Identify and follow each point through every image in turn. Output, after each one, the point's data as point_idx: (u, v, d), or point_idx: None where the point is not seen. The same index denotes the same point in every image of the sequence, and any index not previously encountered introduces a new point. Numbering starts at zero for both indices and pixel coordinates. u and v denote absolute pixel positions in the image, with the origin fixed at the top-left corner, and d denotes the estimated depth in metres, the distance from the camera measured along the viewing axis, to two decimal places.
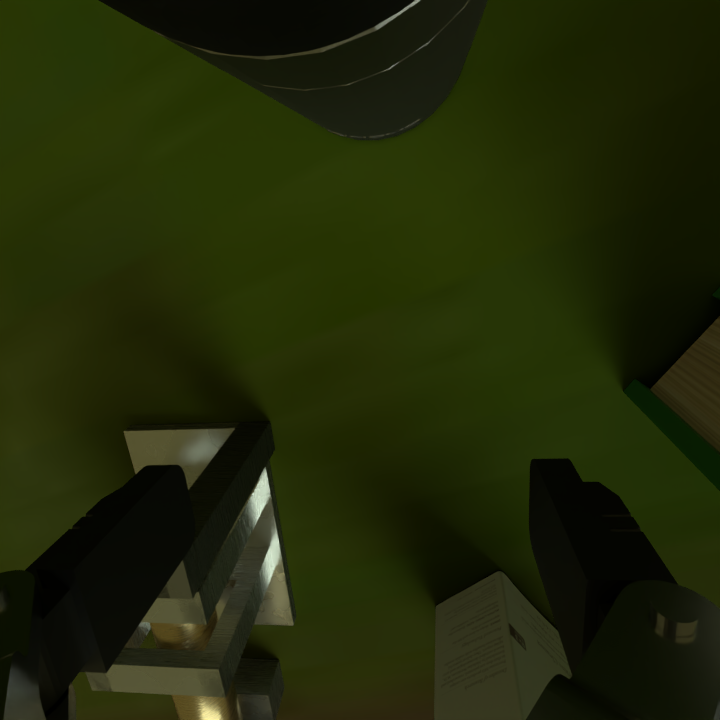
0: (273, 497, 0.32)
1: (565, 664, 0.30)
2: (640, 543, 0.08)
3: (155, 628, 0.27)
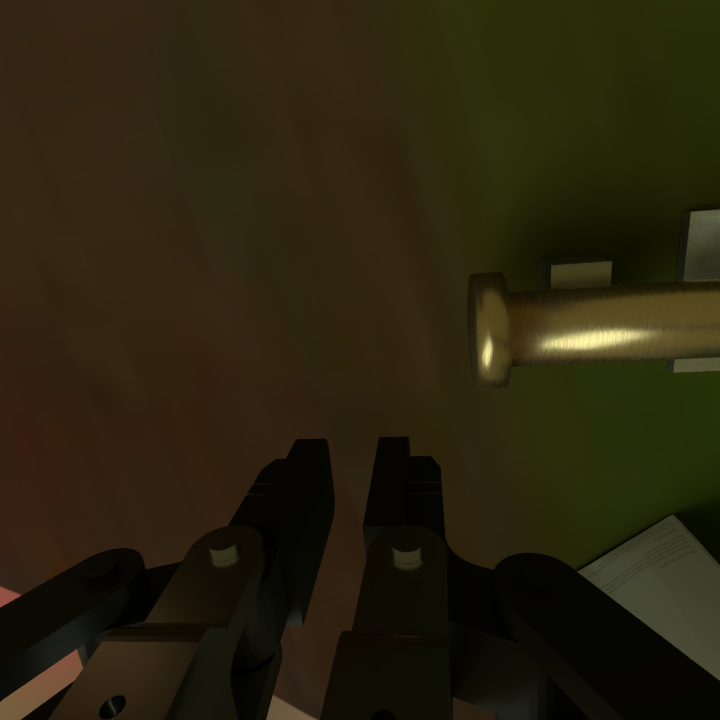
0: None
1: None
2: (434, 502, 0.09)
3: None
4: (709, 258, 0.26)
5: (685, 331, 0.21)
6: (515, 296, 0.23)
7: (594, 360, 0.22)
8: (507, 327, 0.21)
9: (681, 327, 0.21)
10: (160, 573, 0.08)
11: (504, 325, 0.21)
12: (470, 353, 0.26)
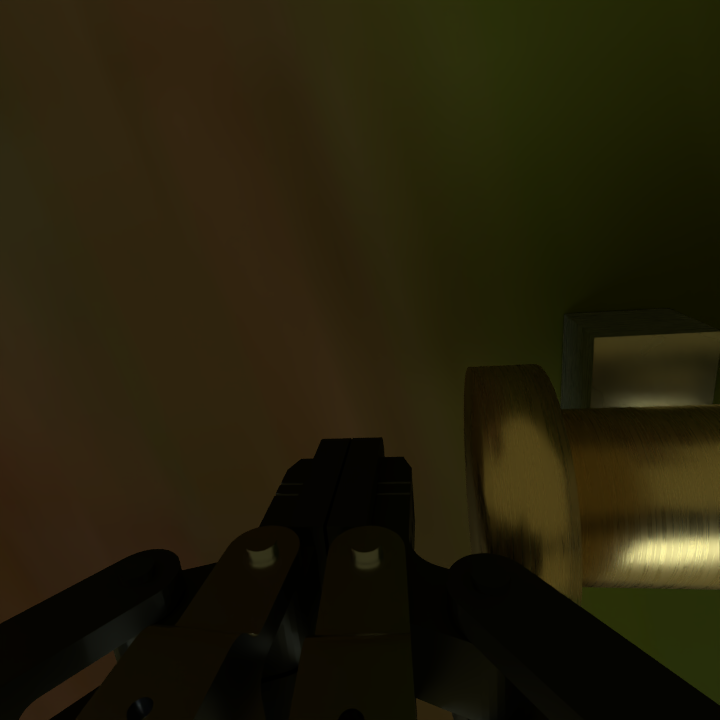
0: None
1: None
2: (401, 503, 0.09)
3: None
4: None
5: None
6: (578, 432, 0.09)
7: None
8: (570, 545, 0.08)
9: None
10: (195, 575, 0.08)
11: (561, 540, 0.08)
12: (469, 515, 0.12)
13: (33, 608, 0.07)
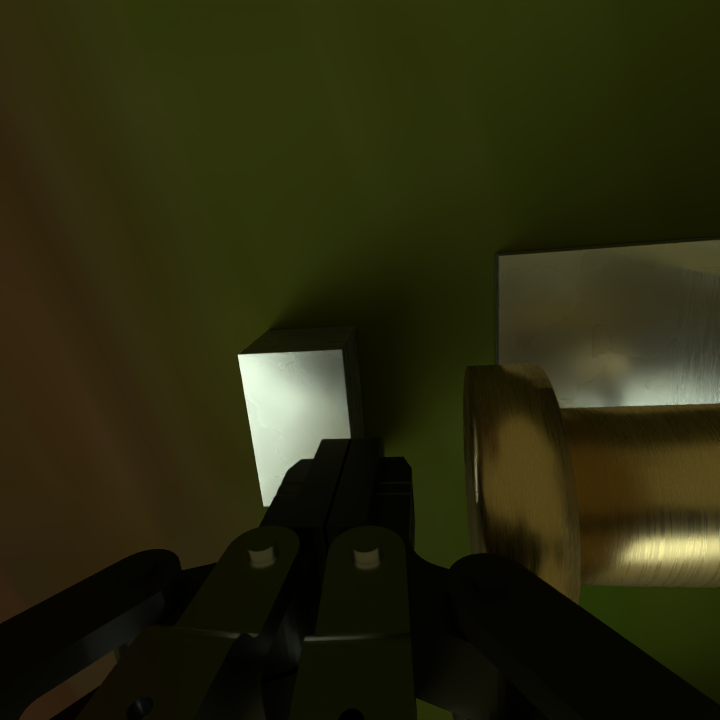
0: None
1: None
2: (401, 503, 0.09)
3: None
4: (539, 337, 0.15)
5: None
6: (577, 431, 0.09)
7: None
8: (568, 543, 0.08)
9: None
10: (195, 575, 0.08)
11: (560, 538, 0.08)
12: (469, 514, 0.13)
13: (33, 608, 0.07)
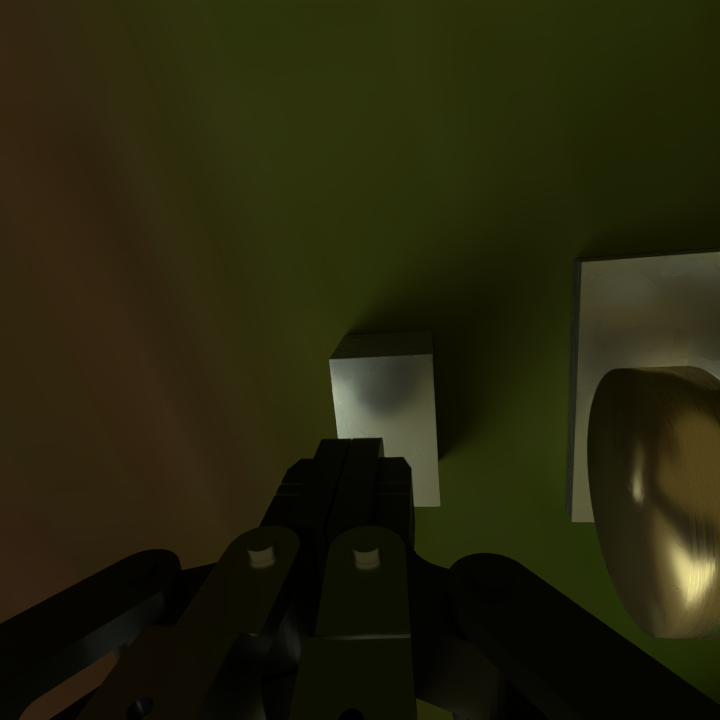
0: None
1: None
2: (401, 503, 0.09)
3: None
4: (619, 341, 0.15)
5: None
6: None
7: None
8: None
9: None
10: (195, 575, 0.08)
11: None
12: (600, 514, 0.13)
13: (33, 608, 0.07)
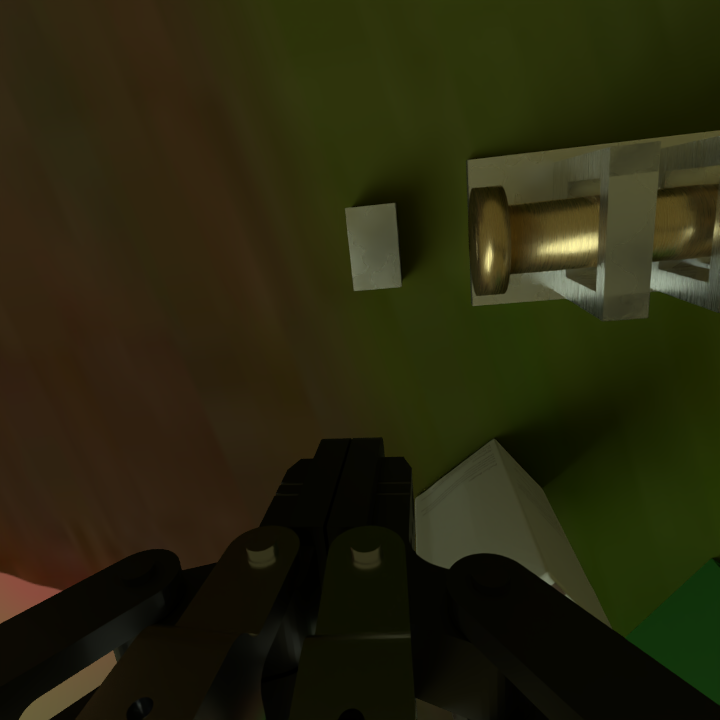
0: None
1: None
2: (401, 503, 0.09)
3: None
4: None
5: (667, 228, 0.23)
6: (513, 206, 0.25)
7: (586, 262, 0.25)
8: (506, 228, 0.23)
9: (664, 226, 0.23)
10: (195, 575, 0.08)
11: (503, 227, 0.23)
12: (472, 269, 0.28)
13: (33, 608, 0.07)
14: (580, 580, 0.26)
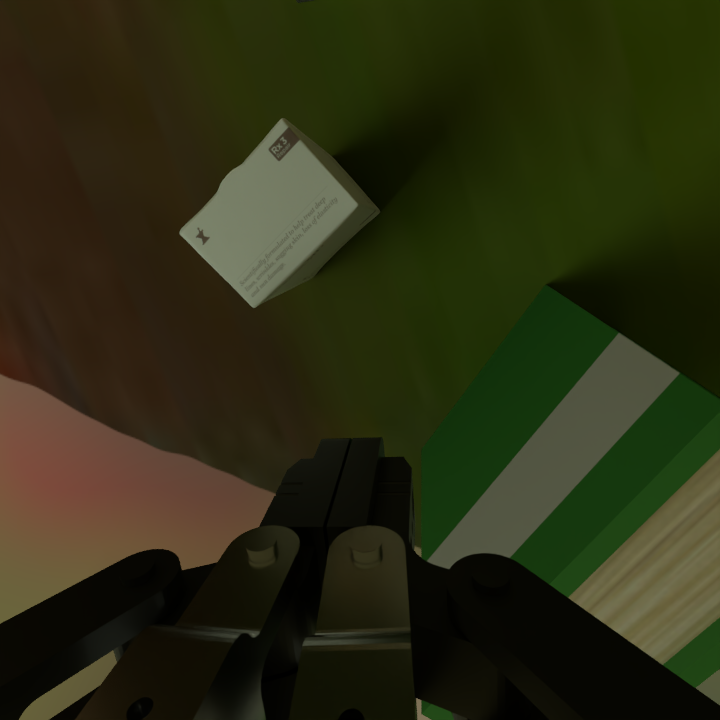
0: None
1: (318, 267, 0.37)
2: (401, 503, 0.09)
3: None
4: None
5: None
6: None
7: None
8: None
9: None
10: (195, 576, 0.08)
11: None
12: None
13: (33, 608, 0.07)
14: (347, 183, 0.27)
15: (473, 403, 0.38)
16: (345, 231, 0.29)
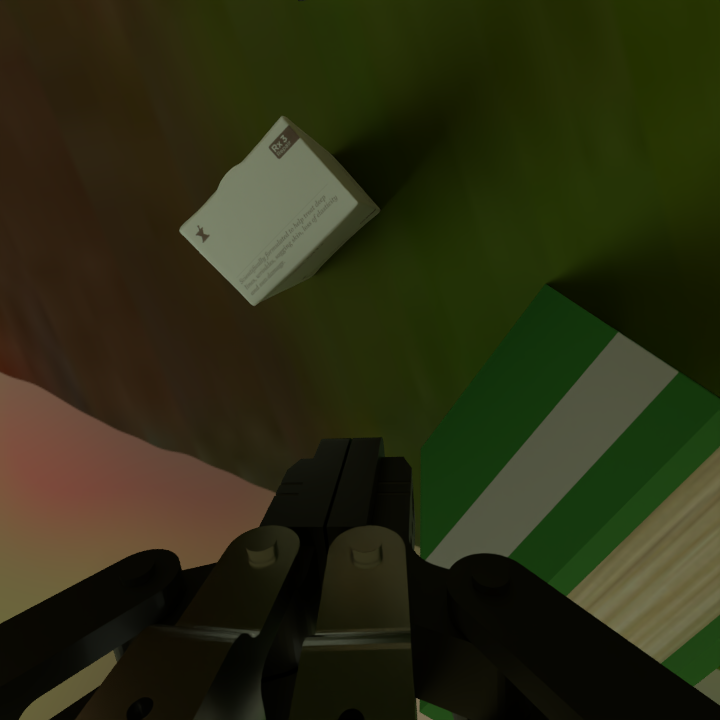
0: None
1: (318, 265, 0.37)
2: (401, 503, 0.09)
3: None
4: None
5: None
6: None
7: None
8: None
9: None
10: (195, 576, 0.08)
11: None
12: None
13: (33, 608, 0.07)
14: (347, 181, 0.27)
15: (472, 402, 0.38)
16: (345, 229, 0.29)
